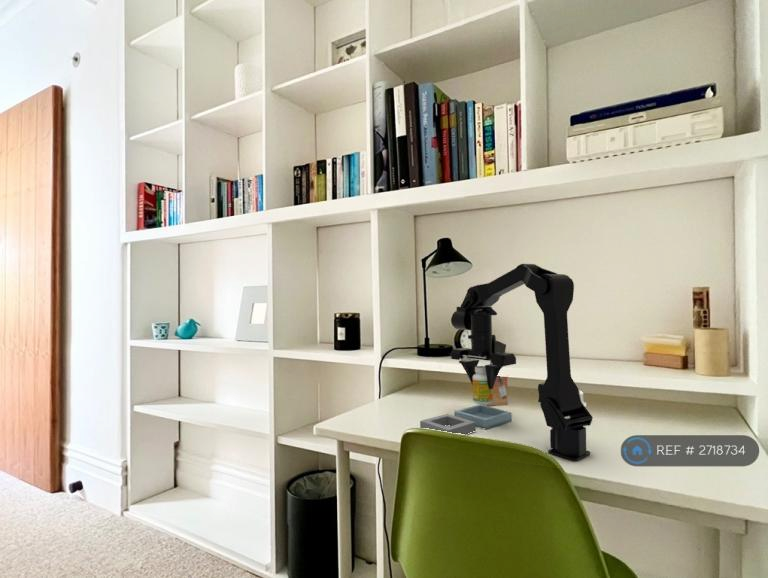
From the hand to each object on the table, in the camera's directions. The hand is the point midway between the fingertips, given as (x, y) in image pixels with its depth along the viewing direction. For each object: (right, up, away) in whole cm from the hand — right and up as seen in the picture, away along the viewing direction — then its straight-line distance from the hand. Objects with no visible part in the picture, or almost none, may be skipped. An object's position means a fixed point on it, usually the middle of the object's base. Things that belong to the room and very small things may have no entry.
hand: (482, 387), depth 119 cm
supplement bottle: (0, -4, 0) cm, 4 cm away
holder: (-11, -9, -8) cm, 17 cm away
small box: (+7, -10, +18) cm, 22 cm away
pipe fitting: (+25, -9, -1) cm, 27 cm away
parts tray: (0, -9, 0) cm, 9 cm away
